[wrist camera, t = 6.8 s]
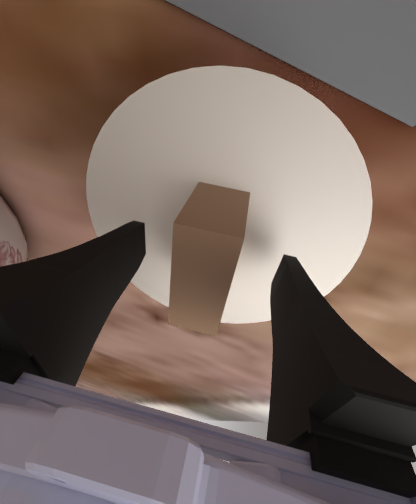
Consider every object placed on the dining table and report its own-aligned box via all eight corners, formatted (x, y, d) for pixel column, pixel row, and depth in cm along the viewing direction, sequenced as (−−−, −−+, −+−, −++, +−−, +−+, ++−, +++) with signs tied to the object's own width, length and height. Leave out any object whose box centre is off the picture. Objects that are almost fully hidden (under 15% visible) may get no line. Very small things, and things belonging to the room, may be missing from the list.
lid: (452, 104, 8) (601, 127, 5) (297, 334, 18) (305, 403, 14) (66, 36, 9) (-65, 11, 6) (111, 287, 19) (72, 340, 15)
